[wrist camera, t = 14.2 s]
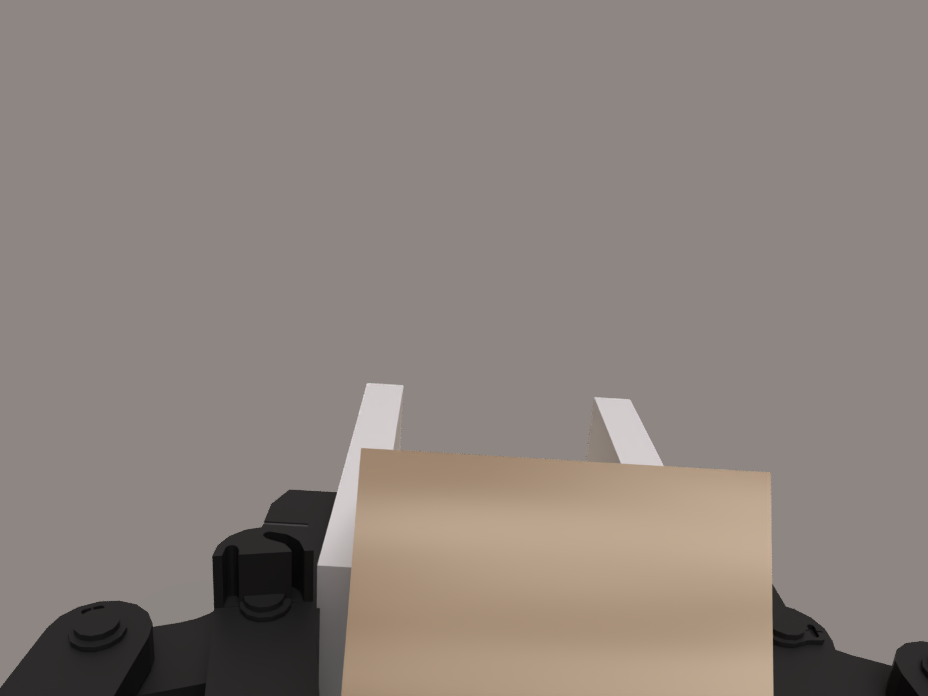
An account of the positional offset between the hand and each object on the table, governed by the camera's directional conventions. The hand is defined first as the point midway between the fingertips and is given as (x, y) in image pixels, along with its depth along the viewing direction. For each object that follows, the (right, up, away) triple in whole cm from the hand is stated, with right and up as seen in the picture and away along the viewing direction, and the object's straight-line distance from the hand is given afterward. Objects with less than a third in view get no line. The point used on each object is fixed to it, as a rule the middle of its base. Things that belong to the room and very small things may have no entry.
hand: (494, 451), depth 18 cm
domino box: (0, -5, +2) cm, 6 cm away
